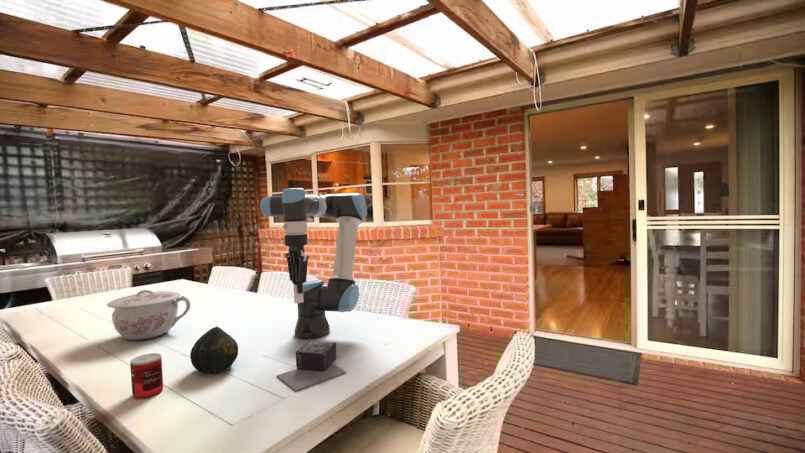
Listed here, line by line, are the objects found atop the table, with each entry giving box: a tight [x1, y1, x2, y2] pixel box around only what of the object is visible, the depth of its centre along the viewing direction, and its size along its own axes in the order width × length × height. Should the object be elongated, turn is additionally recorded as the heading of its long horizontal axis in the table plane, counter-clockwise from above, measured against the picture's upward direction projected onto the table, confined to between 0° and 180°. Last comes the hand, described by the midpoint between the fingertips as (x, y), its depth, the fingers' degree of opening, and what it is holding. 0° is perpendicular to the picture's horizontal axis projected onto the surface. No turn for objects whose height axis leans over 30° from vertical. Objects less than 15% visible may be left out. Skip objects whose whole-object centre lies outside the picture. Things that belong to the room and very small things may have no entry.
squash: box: [189, 325, 239, 374], centre depth 130 cm, size 14×15×15 cm
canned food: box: [129, 352, 164, 400], centre depth 113 cm, size 8×8×11 cm
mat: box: [276, 363, 347, 392], centre depth 123 cm, size 14×18×1 cm
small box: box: [295, 340, 337, 371], centre depth 129 cm, size 11×6×10 cm
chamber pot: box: [106, 289, 192, 341], centre depth 168 cm, size 28×28×21 cm
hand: (298, 302), depth 127 cm, fingers closed
